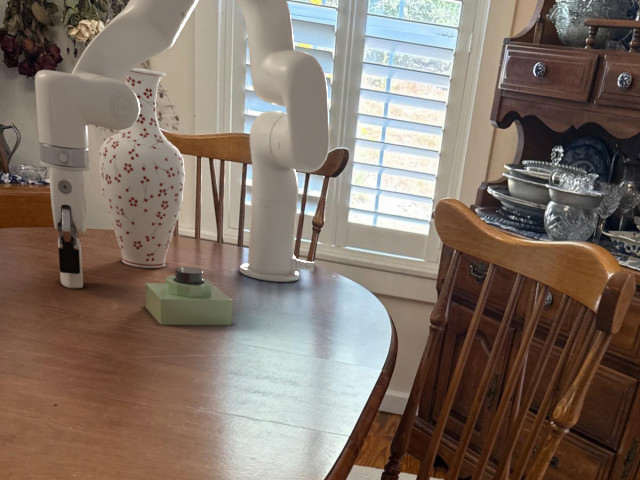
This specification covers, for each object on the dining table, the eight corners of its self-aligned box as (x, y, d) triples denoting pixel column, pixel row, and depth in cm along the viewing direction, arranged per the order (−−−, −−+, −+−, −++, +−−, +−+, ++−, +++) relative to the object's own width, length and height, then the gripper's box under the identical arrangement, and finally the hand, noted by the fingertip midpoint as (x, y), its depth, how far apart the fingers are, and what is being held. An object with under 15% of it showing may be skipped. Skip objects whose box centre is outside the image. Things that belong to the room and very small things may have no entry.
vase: (172, 277, 154) (173, 75, 136) (90, 264, 153) (81, 59, 135) (192, 261, 168) (195, 77, 150) (117, 250, 167) (112, 62, 149)
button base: (213, 308, 139) (214, 274, 136) (231, 325, 132) (233, 289, 129) (145, 307, 133) (144, 271, 130) (160, 324, 126) (160, 287, 123)
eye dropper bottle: (88, 282, 141) (85, 213, 135) (80, 290, 136) (77, 218, 130) (63, 279, 140) (58, 209, 134) (54, 286, 135) (49, 214, 129)
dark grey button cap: (197, 280, 132) (198, 267, 131) (205, 287, 129) (206, 274, 128) (172, 279, 130) (172, 266, 129) (179, 286, 127) (179, 273, 126)
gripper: (87, 167, 122) (92, 281, 131) (90, 154, 136) (94, 258, 145) (35, 160, 120) (44, 278, 128) (43, 148, 134) (50, 254, 142)
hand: (71, 266), depth 137 cm, fingers open, 6 cm apart
